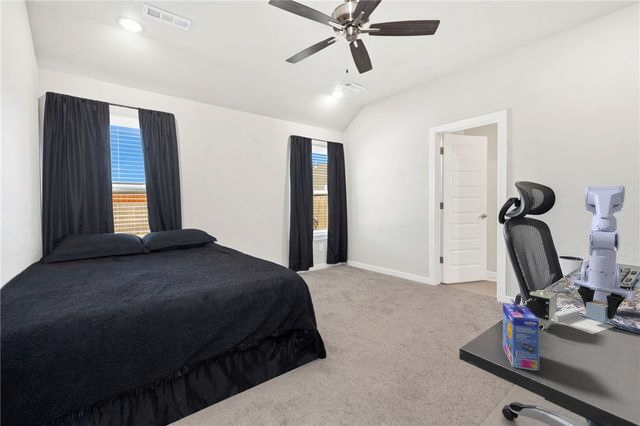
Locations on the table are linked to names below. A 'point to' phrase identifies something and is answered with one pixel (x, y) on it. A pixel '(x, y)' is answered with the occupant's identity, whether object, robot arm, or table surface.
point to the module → (597, 310)
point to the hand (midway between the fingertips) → (599, 314)
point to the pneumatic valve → (542, 306)
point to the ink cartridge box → (521, 336)
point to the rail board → (579, 321)
